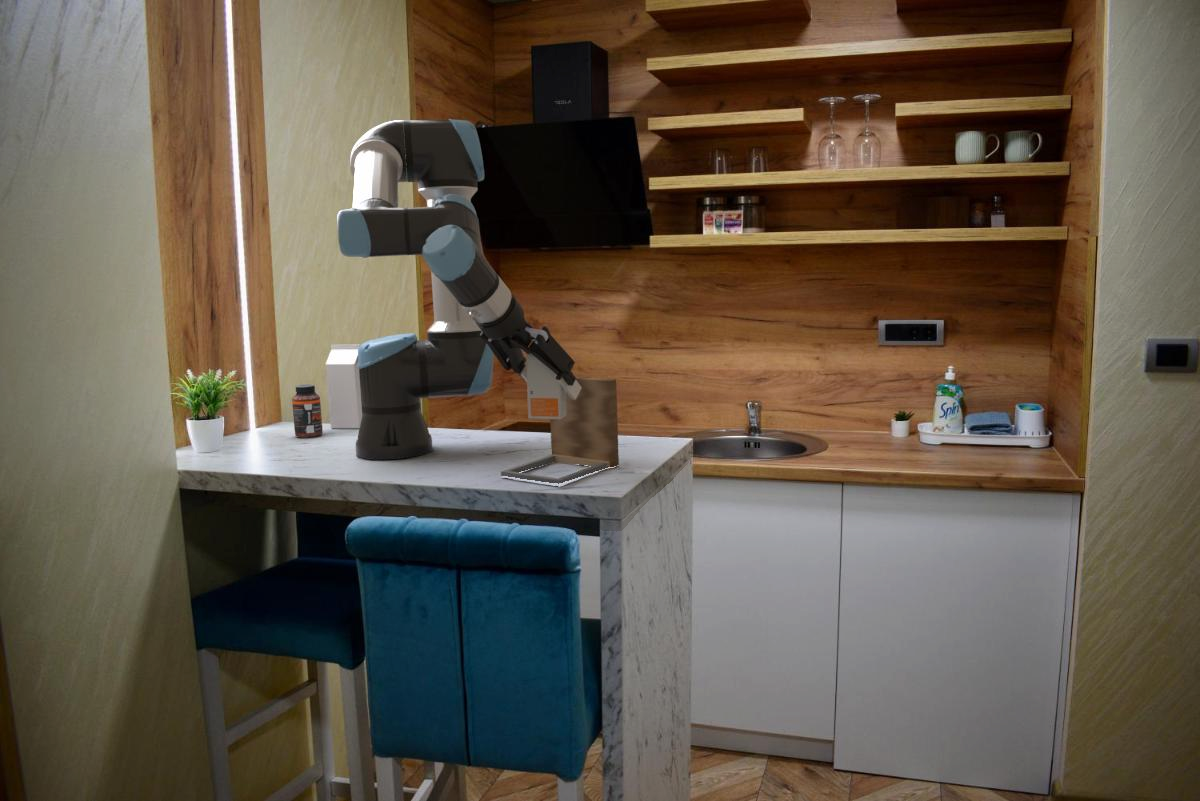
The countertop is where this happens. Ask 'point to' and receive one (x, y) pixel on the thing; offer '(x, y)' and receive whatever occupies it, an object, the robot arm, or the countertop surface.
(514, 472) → the grey rectangular frame
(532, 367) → the skincare box
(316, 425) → the supplement bottle
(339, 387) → the milk carton
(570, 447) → the wall board
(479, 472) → the countertop surface
